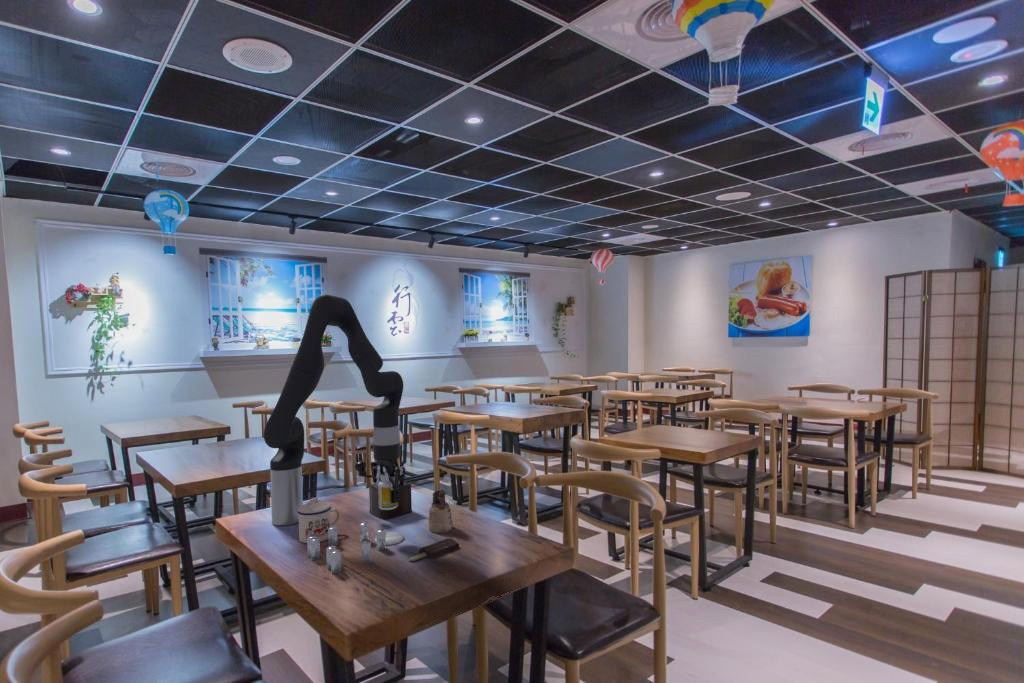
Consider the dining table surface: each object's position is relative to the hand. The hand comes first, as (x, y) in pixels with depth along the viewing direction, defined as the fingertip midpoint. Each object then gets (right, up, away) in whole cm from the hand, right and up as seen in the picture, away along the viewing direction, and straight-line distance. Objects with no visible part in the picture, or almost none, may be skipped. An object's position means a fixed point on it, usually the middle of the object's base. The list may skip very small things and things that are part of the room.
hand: (388, 500), depth 151 cm
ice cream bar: (+14, -12, -10) cm, 21 cm away
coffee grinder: (-7, -11, +22) cm, 26 cm away
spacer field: (-8, -12, -9) cm, 17 cm away
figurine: (+14, -11, +8) cm, 19 cm away
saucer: (0, -11, 0) cm, 11 cm away
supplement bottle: (0, -2, 0) cm, 2 cm away
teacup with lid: (-21, -12, +4) cm, 24 cm away
